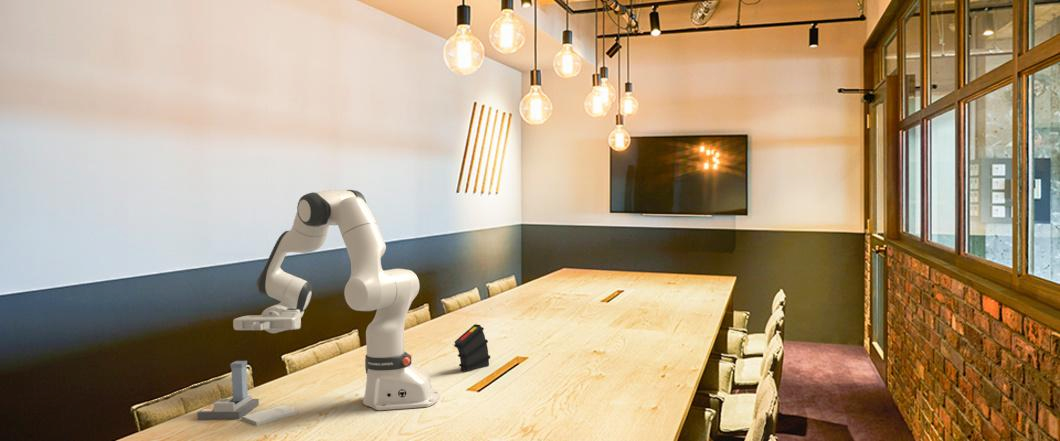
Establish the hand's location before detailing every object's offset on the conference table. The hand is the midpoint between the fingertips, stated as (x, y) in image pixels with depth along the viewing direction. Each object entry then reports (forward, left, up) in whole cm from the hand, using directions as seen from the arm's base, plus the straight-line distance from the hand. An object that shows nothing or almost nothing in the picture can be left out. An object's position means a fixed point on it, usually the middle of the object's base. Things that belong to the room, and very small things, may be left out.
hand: (256, 327), depth 209 cm
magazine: (-64, -28, -21) cm, 73 cm away
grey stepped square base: (+1, +16, -21) cm, 27 cm away
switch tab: (0, +12, -19) cm, 23 cm away
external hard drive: (-13, +20, -22) cm, 32 cm away
